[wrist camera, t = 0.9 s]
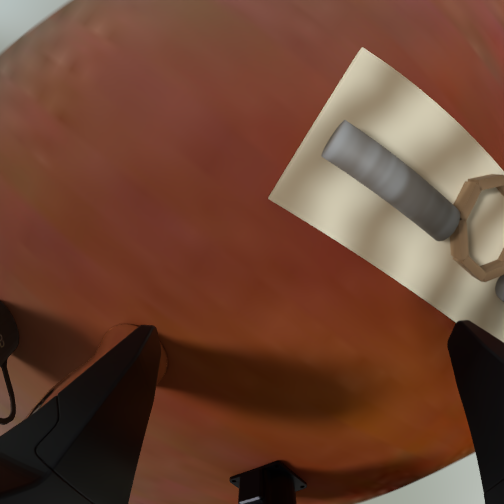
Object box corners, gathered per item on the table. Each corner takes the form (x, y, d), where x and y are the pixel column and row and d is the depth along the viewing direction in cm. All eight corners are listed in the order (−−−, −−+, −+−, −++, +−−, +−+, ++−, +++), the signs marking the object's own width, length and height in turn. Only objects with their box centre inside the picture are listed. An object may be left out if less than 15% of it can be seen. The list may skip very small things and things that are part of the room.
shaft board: (563, 264, 22) (584, 274, 18) (508, 362, 25) (526, 378, 21) (358, 51, 19) (375, 32, 15) (268, 198, 21) (270, 202, 18)
